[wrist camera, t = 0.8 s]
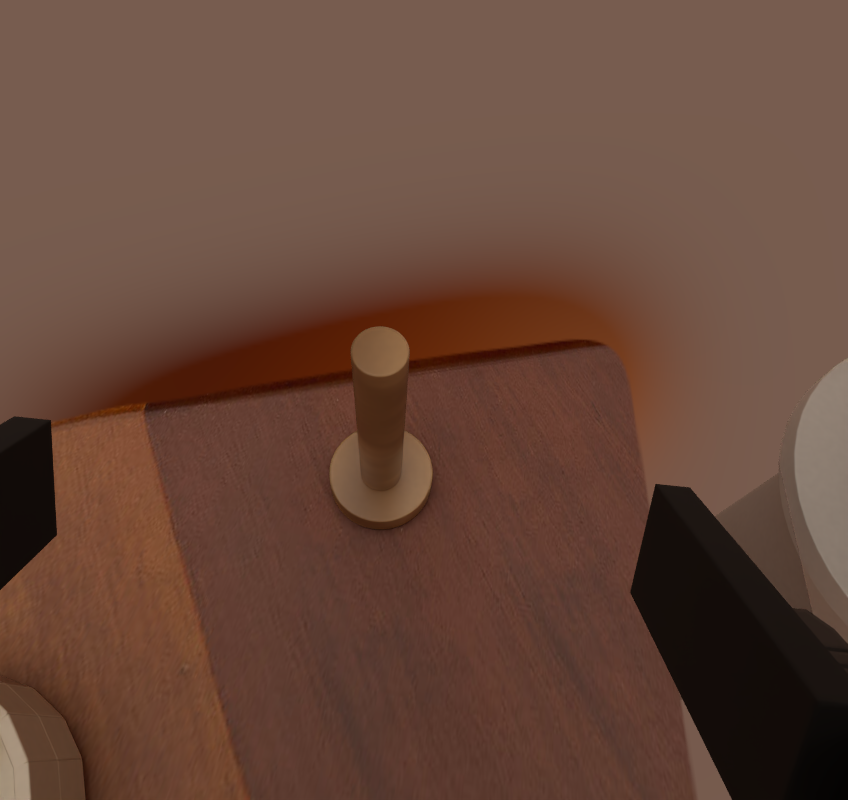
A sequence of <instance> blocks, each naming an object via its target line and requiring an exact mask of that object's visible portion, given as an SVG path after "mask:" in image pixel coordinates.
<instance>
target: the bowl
mask: <svg viewBox="0 0 848 800" xmlns="http://www.w3.org/2000/svg"><path fill="white" fill-rule="evenodd" d="M81 758H82V757H81V755H80V753H79V750H78V748H77V746H76V744H75V741H74V739H73V737H72V735H71V733H70V730H69V728H68V726H67V724H66V721H65V719H64V718H63V716H62V715H61V714H60V713H59V712H58V711H57V710H56V709H55V708H54V707H53V706H51V705H50V704H49V703H48V702H47V701H46V700H45V699H44V698H43V697H42V696H41V695H40V694H39V693H38V692H37V691H36V690H35V689H33V688H32V687H30V686H27V685H25V684H22V683H20V682H17V681H14V680H12V679H9V678H7V677H4V676H2V675H0V800H86V798H85V787H84V776H83V764H82V759H81Z"/></svg>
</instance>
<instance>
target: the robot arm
mask: <svg viewBox="0 0 848 800" xmlns="http://www.w3.org/2000/svg"><path fill="white" fill-rule="evenodd" d="M56 535H57V528H56V510H55V491H54V472H53V454H52V435H51V420H43V419H34V418H23V417H13V418H11V419H9V420H7V421H6V422H4V423H2V424H1V425H0V590H1V589H2V588H3V587H4V586H5V585H6V584H7V583H8V582H9V581H10V580H11V579H12V578H13V577H14V576H15V575H16V574H17V573H18V572H19V571H20V570H21V569H22V568H23V567H24V566H25V565H26V564H27V563H29V562H30V561H31V560H32V559H33V558H34V557H35V556H36V555H37V554H38V553H39V552H40V551H41V550H42V549H43V548H44V547H45V546H46V545H47V544H48V543H49V542H50V541H51V540H52V539H53V538H54V537H55V536H56ZM630 593H631V595H632V597H633V599H634V601H635V603H636V605H637V607H638V609H639V611H640V613H641V615H642V617H643V619H644V621H645V623H646V625H647V627H648V630H649V632H650V634H651V636H652V638H653V640H654V642H655V644H656V646H657V648H658V650H659V652H660V654H661V656H662V658H663V660H664V662H665V664H666V666H667V668H668V670H669V672H670V674H671V676H672V678H673V680H674V682H675V684H676V687H677V689H678V691H679V693H680V695H681V697H682V699H683V701H684V703H685V705H686V707H687V709H688V711H689V713H690V715H691V717H692V719H693V721H694V723H695V725H696V727H697V729H698V731H699V733H700V735H701V737H702V739H703V741H704V743H705V746H706V748H707V750H708V751H709V753H710V756H711V758H712V760H713V762H714V764H715V766H716V768H717V770H718V772H719V774H720V776H721V778H722V780H723V782H724V784H725V786H726V788H727V790H728V792H729V794H730V796H731V798H732V800H848V643H847V642H846V641H845V640H844V639H843V638H842V637H841V636H840V635H839V633H838V632H837V631H836V630H835V629H834V628H832V627H831V626H829V625H828V624H827V623H825V622H824V621H822V620H821V619H819V618H818V617H816V616H815V615H814V614H812V613H811V612H809V611H808V610H804V609H794V608H792V607H791V606H790V605H789V604H788V603H787V601H786V600H785V599H784V598H783V597H782V595H781V594H780V593H779V592H778V591H777V590H776V588H775V587H774V586H773V585H772V584H771V583H770V581H769V580H768V579H767V578H766V577H765V575H764V574H763V573H762V572H761V571H760V570H759V568H758V567H757V566H756V565H755V564H754V562H753V561H752V560H751V559H750V558H749V557H748V555H747V554H746V553H745V552H744V551H743V550H742V548H741V547H740V546H739V545H738V544H737V542H736V541H735V540H734V539H733V538H732V537H731V535H730V534H729V533H728V532H727V531H726V530H725V528H724V527H723V526H722V525H721V524H720V522H719V521H718V520H717V519H716V518H715V517H714V515H713V514H712V513H711V512H710V511H709V510H708V508H707V507H706V506H705V505H704V504H703V502H702V501H701V500H700V499H699V498H698V497H697V496H696V494H695V493H694V492H693V491H692V490H691V488H689V487H679V486H670V485H660V484H656V485H655V489H654V493H653V497H652V502H651V506H650V510H649V515H648V519H647V523H646V527H645V532H644V536H643V540H642V545H641V549H640V553H639V557H638V562H637V566H636V570H635V574H634V579H633V583H632V587H631V592H630Z"/></svg>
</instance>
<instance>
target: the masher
mask: <svg viewBox="0 0 848 800" xmlns="http://www.w3.org/2000/svg"><path fill="white" fill-rule="evenodd" d="M351 363H352V375H353V387H354V398H355V410H356V422H357V431H356V432H354V433H352V434H351V435H350V436H348V437H347V438H346V439H345V440H344V441H343V442H342V443H341V444H340V445H339V446H338V448H337V449H336V451H335V453H334V455H333V457H332V460H331V464H330V470H329V479H330V485H331V490H332V494H333V498H334V500H335V502H336V504H337V506H338V507H339V509H340V510H341V511H342V513H343V514H344V515H345V516H346V517H347V518H349V519H350V520H351V521H353V522H355V523H356V524H358V525H361V526H363V527H366V528H371V529H391V528H395V527H398V526H401V525H403V524H405V523H407V522H408V521H410V520H412V519H413V518H414V517H415V516H416V515H417V514H418V513H419V512H420V511H421V510H422V508H423V507H424V505H425V504H426V502H427V500H428V497H429V494H430V490H431V484H432V478H433V469H432V463H431V459H430V457H429V454H428V452H427V450H426V449H425V447H424V446H423V444H422V443H421V442H420V441H419V440H418V439H417V438H416V437H414V436H413V435H412V434H410V433H409V432H407V431H405V430H404V428H405V413H406V398H407V383H408V368H409V346H408V343H407V341H406V340H405V338H404V337H403V336H402V335H401V334H400V333H399V332H397V331H396V330H394V329H391V328H388V327H372V328H369V329H366V330H365V331H363V332H361V333H360V334H359V335H358V336H357V337H356V338H355V340H354V341H353V344H352V346H351Z"/></svg>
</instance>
